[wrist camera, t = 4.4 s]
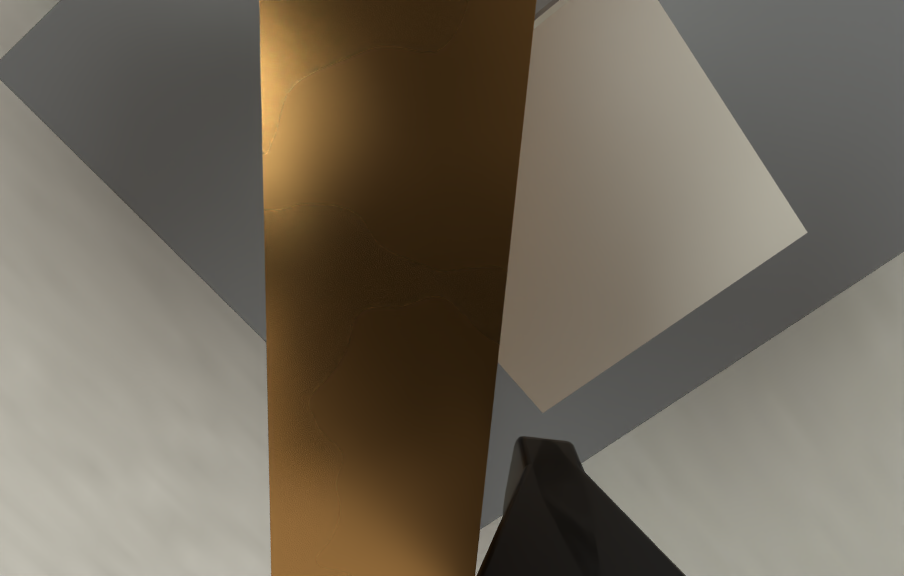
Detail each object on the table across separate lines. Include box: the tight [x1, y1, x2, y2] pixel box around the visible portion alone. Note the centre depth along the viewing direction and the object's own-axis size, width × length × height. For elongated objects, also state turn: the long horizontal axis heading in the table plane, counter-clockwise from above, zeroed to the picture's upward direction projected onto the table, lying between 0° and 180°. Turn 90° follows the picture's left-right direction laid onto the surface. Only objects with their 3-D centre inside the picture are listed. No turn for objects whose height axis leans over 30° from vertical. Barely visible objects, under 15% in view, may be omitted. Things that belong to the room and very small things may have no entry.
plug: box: [498, 0, 808, 413], centre depth 13 cm, size 4×4×8 cm
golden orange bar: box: [259, 0, 537, 576], centre depth 9 cm, size 15×3×2 cm, turn 176°
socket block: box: [0, 0, 904, 529], centre depth 13 cm, size 14×16×8 cm
